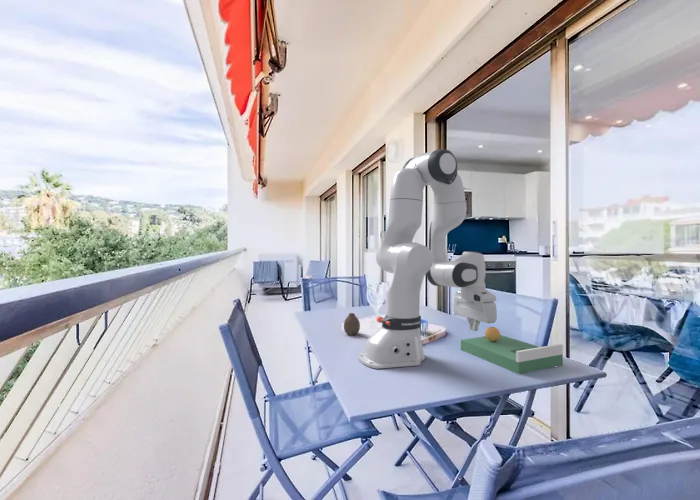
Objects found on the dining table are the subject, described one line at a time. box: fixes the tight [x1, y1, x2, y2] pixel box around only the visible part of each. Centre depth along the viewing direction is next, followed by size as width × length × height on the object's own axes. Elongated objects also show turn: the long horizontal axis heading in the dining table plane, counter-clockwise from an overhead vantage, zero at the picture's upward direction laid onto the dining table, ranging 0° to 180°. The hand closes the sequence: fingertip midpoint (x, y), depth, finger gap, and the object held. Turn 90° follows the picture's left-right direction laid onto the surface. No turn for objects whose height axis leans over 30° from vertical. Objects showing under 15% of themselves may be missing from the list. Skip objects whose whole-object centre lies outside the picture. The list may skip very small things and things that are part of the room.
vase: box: [343, 312, 361, 336], centre depth 152 cm, size 7×7×9 cm
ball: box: [484, 326, 501, 341], centre depth 126 cm, size 5×5×5 cm
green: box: [460, 334, 564, 375], centre depth 120 cm, size 18×26×6 cm
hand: (473, 330), depth 135 cm, fingers closed
